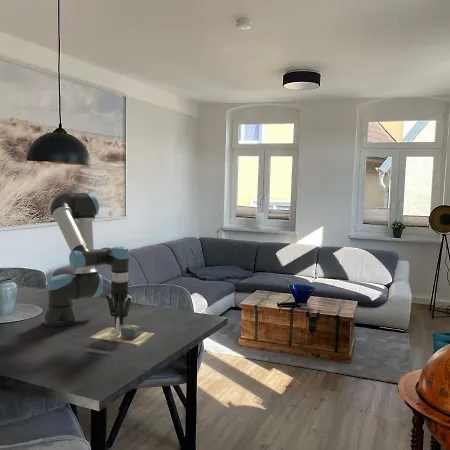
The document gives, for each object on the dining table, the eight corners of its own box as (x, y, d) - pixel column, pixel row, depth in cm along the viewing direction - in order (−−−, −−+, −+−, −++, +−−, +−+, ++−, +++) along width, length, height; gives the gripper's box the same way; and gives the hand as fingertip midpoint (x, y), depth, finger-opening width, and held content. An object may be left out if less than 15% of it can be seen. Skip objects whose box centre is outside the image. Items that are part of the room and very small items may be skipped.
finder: (121, 336, 208) (121, 326, 208) (126, 332, 213) (126, 323, 213) (134, 338, 206) (135, 328, 206) (140, 334, 211) (140, 325, 211)
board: (89, 339, 206) (89, 337, 206) (108, 329, 221) (108, 327, 221) (137, 347, 199) (137, 344, 199) (154, 335, 214) (154, 333, 214)
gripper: (102, 281, 208) (101, 332, 210) (128, 284, 204) (127, 335, 206) (111, 277, 215) (110, 327, 217) (136, 280, 211) (135, 330, 213)
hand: (118, 331), depth 212 cm, fingers closed
